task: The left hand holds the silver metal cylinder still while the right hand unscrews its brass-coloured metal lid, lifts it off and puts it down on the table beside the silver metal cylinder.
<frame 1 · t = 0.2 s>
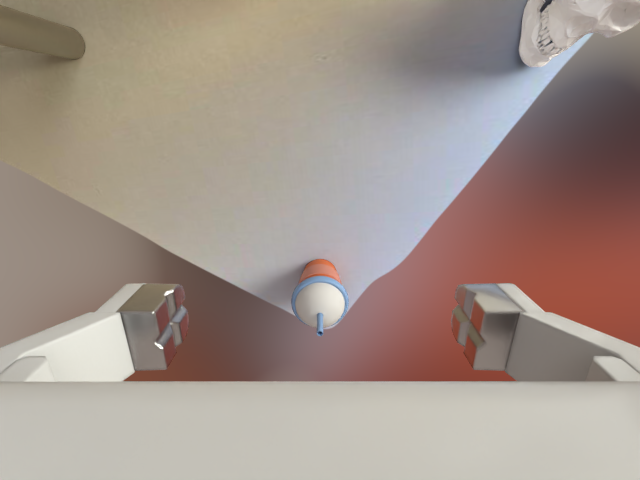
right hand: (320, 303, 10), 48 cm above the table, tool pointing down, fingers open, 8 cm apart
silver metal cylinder: (70, 43, 50), on the table
cup with straw: (319, 273, 63), on the table
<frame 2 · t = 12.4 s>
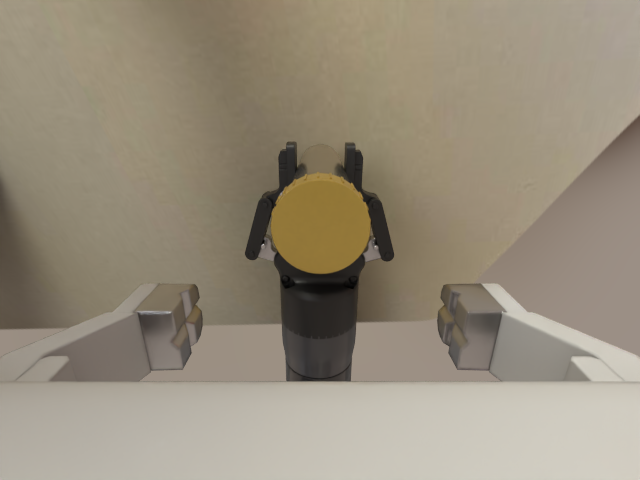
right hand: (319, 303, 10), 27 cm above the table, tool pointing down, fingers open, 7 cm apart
lid: (320, 227, 17), point 20 cm above the table, screwed on, not yet turned
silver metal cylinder: (320, 165, 35), on the table, touching left hand
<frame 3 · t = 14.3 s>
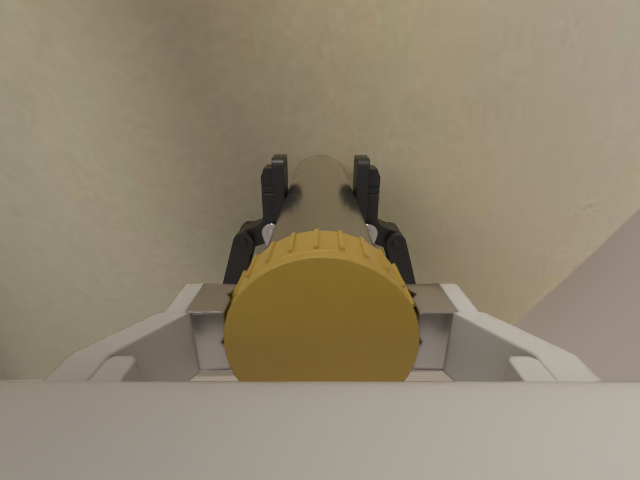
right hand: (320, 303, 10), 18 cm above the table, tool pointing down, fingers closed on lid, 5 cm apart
lid: (321, 337, 9), point 20 cm above the table, screwed on, not yet turned, touching right hand
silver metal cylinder: (320, 181, 27), on the table, touching left hand
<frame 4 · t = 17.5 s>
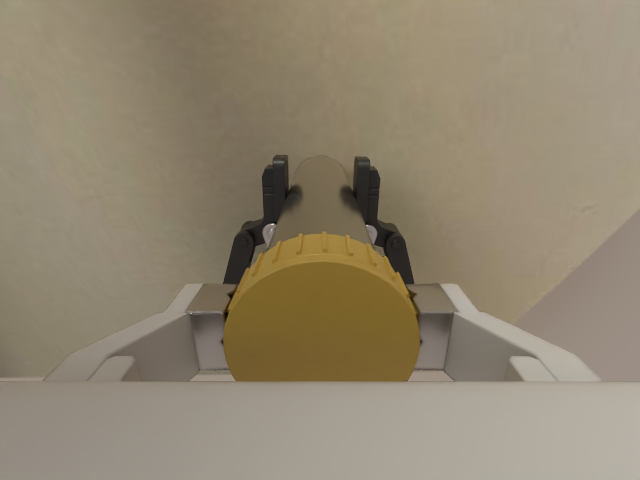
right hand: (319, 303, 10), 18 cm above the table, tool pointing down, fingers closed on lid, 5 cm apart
lid: (321, 341, 9), point 20 cm above the table, turned 82° so far, risen 0.2 cm, still on its thread, touching right hand
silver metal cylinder: (320, 182, 27), on the table, touching left hand
when the right hand's fingers open (2 cm above the table, at t = 23.5 s): lid drops 2 cm, point 1 cm above the table.
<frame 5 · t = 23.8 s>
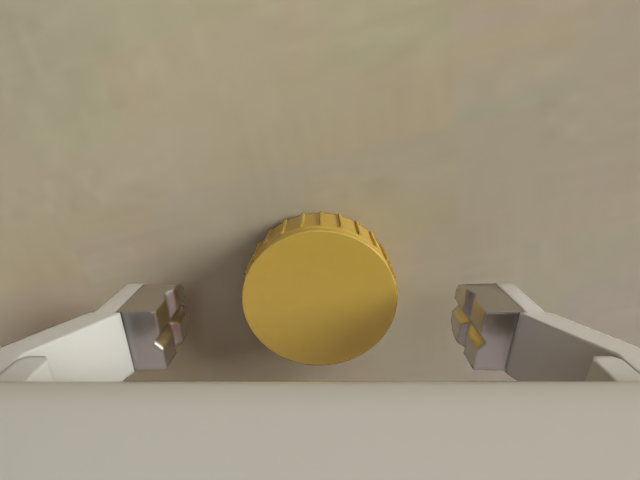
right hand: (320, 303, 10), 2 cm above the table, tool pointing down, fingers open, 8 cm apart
lid: (319, 297, 11), point 1 cm above the table, off its thread
when the left hand's fingers open (6 cm above the table, at t = 24.5 s): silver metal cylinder stays where it is, on the table.
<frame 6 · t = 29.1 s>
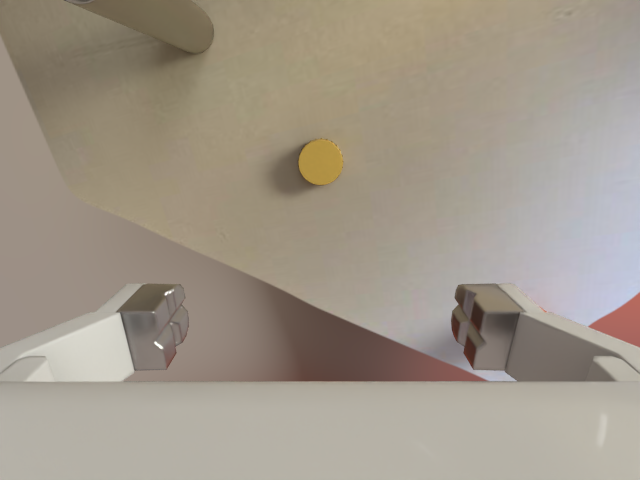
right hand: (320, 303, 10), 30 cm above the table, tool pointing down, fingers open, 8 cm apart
lid: (320, 162, 37), point 1 cm above the table, off its thread
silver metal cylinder: (192, 30, 34), on the table
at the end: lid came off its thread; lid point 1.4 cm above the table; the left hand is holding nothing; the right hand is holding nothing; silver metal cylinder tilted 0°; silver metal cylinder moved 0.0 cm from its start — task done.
